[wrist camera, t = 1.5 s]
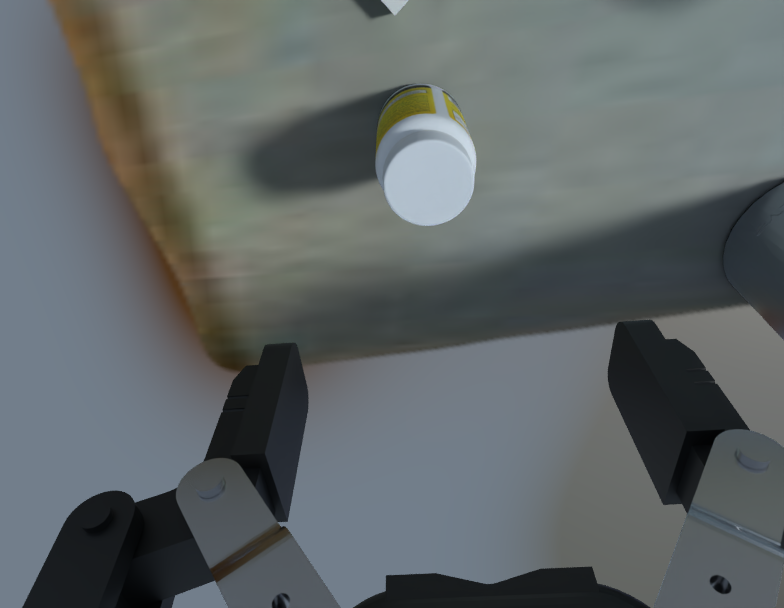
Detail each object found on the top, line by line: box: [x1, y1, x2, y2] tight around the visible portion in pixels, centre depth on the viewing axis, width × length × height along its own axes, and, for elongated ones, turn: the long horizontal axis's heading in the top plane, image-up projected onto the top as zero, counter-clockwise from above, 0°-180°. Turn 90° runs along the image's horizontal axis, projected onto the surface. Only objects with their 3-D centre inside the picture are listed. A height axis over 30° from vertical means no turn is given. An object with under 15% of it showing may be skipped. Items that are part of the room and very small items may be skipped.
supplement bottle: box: [375, 84, 476, 226], centre depth 27 cm, size 5×5×8 cm
